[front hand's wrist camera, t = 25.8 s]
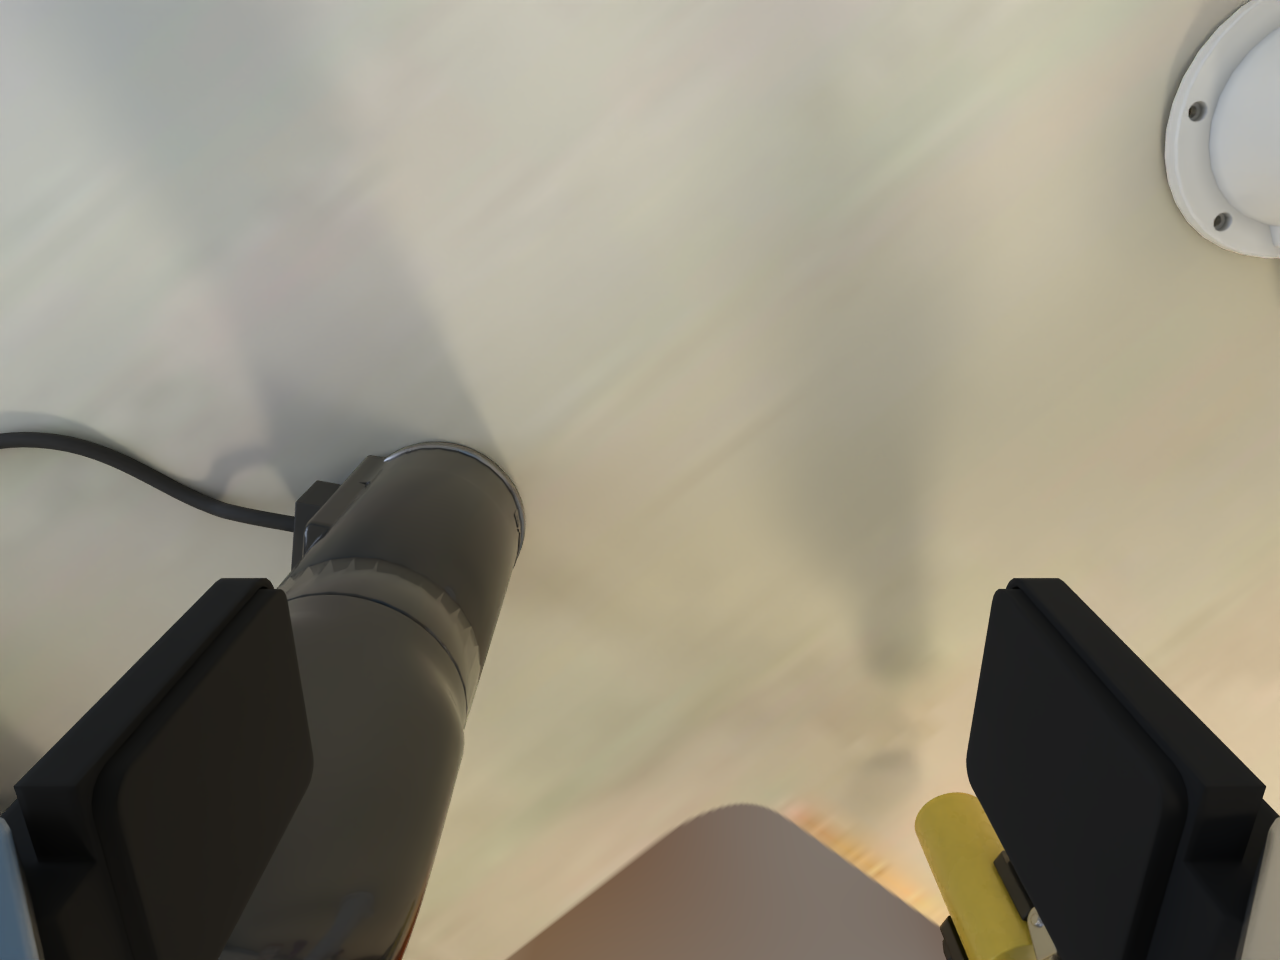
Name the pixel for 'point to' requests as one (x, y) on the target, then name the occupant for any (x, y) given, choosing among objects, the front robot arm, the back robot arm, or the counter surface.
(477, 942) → the counter surface
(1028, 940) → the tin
